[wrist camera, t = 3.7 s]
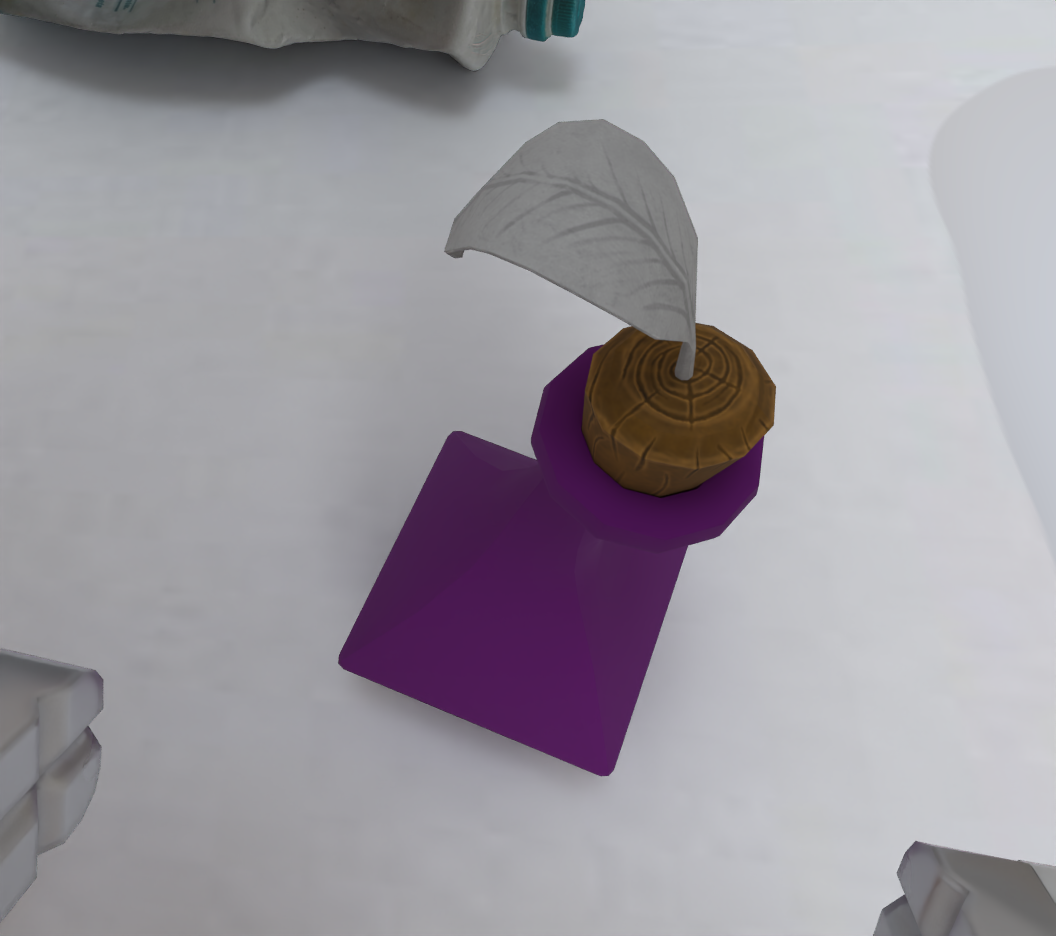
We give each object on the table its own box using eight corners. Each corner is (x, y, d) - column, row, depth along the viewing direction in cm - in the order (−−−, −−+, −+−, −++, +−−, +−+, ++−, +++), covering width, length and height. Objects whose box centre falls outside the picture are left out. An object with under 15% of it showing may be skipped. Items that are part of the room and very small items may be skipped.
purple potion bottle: (670, 562, 29) (959, 102, 13) (591, 796, 25) (845, 577, 9) (451, 477, 29) (457, -64, 13) (346, 693, 26) (184, 323, 10)
